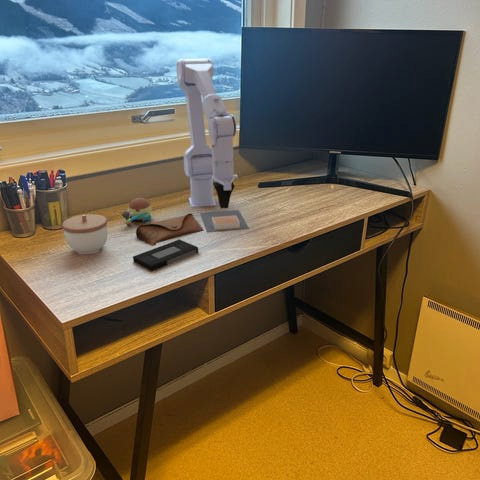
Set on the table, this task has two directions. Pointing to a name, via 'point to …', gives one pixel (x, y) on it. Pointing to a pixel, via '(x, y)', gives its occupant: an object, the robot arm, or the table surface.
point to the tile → (225, 222)
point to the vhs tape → (165, 255)
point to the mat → (208, 215)
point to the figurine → (137, 211)
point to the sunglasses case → (168, 229)
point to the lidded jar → (86, 233)
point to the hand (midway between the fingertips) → (224, 207)
